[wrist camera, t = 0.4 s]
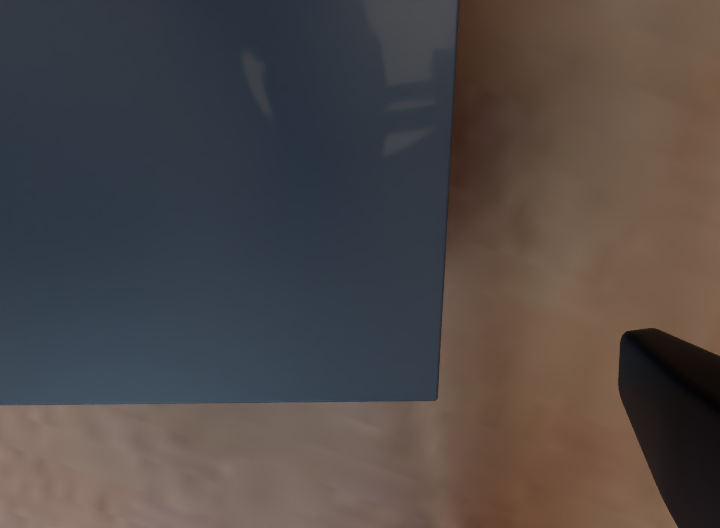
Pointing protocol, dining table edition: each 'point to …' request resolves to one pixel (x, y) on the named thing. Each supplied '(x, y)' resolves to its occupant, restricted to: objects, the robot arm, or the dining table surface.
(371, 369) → the cabinet
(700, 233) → the dining table surface
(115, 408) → the dining table surface
